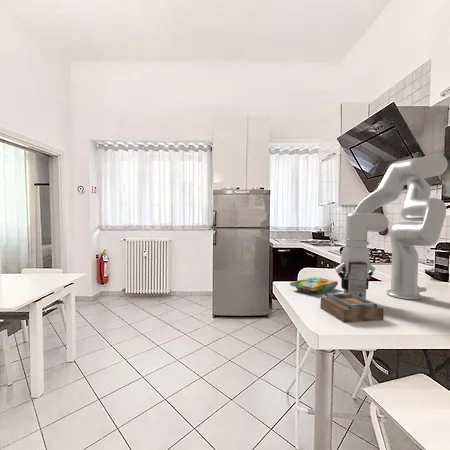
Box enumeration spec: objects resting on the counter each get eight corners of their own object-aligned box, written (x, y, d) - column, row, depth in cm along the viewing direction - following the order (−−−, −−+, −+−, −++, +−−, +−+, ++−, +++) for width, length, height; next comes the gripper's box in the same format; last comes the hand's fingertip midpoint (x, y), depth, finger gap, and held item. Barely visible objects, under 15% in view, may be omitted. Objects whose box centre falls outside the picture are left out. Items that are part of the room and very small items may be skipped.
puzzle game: (337, 279, 128) (313, 285, 115) (337, 289, 128) (312, 297, 115) (315, 275, 137) (290, 280, 124) (315, 285, 137) (289, 291, 125)
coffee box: (343, 297, 114) (344, 259, 114) (359, 299, 113) (360, 259, 113) (348, 304, 105) (349, 262, 105) (366, 305, 104) (368, 263, 104)
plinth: (355, 306, 102) (355, 292, 102) (383, 320, 89) (383, 304, 88) (320, 308, 100) (320, 293, 100) (343, 322, 86) (344, 305, 86)
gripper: (369, 243, 114) (367, 286, 114) (330, 243, 111) (329, 287, 111) (382, 245, 106) (381, 290, 107) (341, 245, 103) (340, 291, 104)
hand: (354, 288), depth 109 cm, fingers closed on coffee box, 8 cm apart
